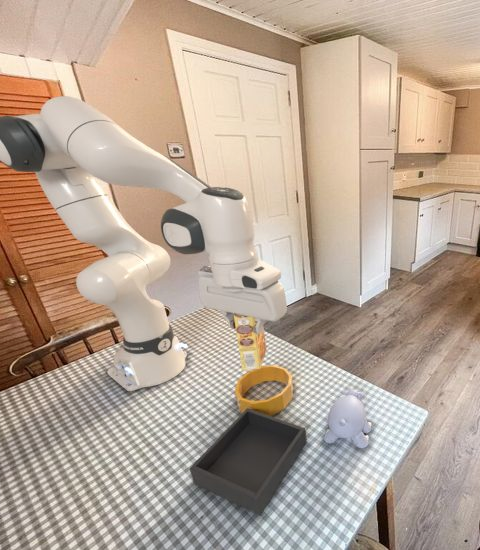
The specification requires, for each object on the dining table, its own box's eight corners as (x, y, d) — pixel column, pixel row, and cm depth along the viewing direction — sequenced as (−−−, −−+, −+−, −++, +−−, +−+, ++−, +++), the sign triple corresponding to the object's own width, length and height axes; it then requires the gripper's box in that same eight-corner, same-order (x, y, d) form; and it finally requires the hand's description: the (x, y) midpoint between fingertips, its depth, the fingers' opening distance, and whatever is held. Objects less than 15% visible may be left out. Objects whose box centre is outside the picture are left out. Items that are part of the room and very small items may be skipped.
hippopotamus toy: (375, 407, 82) (375, 378, 78) (365, 458, 68) (366, 426, 64) (336, 402, 83) (335, 374, 80) (319, 451, 69) (317, 419, 66)
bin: (194, 484, 62) (189, 468, 60) (249, 422, 77) (247, 408, 75) (260, 516, 57) (256, 499, 55) (306, 443, 71) (305, 428, 69)
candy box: (260, 369, 67) (252, 304, 64) (240, 371, 67) (231, 305, 63) (267, 350, 76) (260, 292, 72) (249, 352, 75) (241, 293, 71)
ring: (226, 408, 81) (222, 393, 79) (261, 374, 94) (259, 360, 92) (271, 424, 76) (269, 409, 74) (302, 386, 89) (301, 372, 87)
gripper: (184, 269, 62) (198, 328, 67) (268, 283, 55) (276, 346, 60) (209, 260, 67) (220, 315, 72) (287, 271, 61) (293, 330, 66)
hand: (246, 329), depth 66 cm, fingers closed on candy box, 5 cm apart
